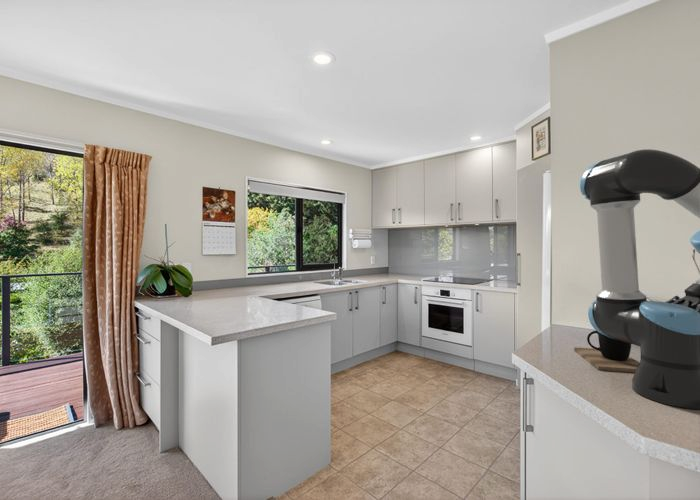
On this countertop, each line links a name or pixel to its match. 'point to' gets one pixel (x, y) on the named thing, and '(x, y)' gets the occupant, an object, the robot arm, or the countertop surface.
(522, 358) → the countertop surface
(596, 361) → the walnut board
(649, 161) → the robot arm
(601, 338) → the mug
